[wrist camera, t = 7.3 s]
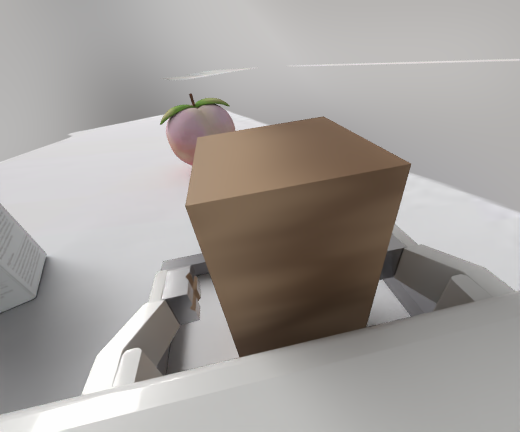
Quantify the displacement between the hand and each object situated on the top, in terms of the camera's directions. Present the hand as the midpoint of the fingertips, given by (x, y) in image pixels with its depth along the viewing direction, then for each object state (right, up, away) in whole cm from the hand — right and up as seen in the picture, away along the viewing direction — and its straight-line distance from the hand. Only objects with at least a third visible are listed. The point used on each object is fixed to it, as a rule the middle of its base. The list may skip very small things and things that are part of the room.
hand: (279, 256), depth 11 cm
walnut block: (+1, -5, +2) cm, 6 cm away
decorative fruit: (-9, +9, +24) cm, 27 cm away
